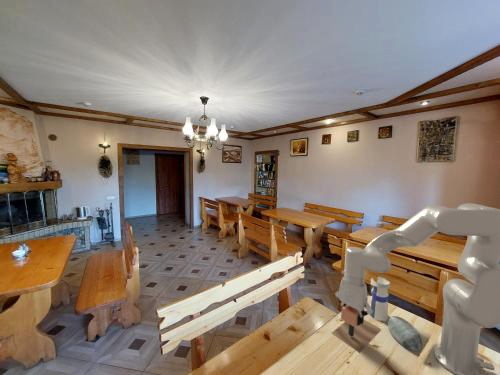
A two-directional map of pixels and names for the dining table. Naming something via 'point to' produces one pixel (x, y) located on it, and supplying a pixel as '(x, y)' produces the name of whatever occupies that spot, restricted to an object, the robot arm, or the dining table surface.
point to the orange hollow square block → (350, 315)
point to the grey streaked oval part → (404, 333)
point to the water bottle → (380, 299)
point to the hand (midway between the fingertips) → (351, 318)
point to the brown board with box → (357, 334)
